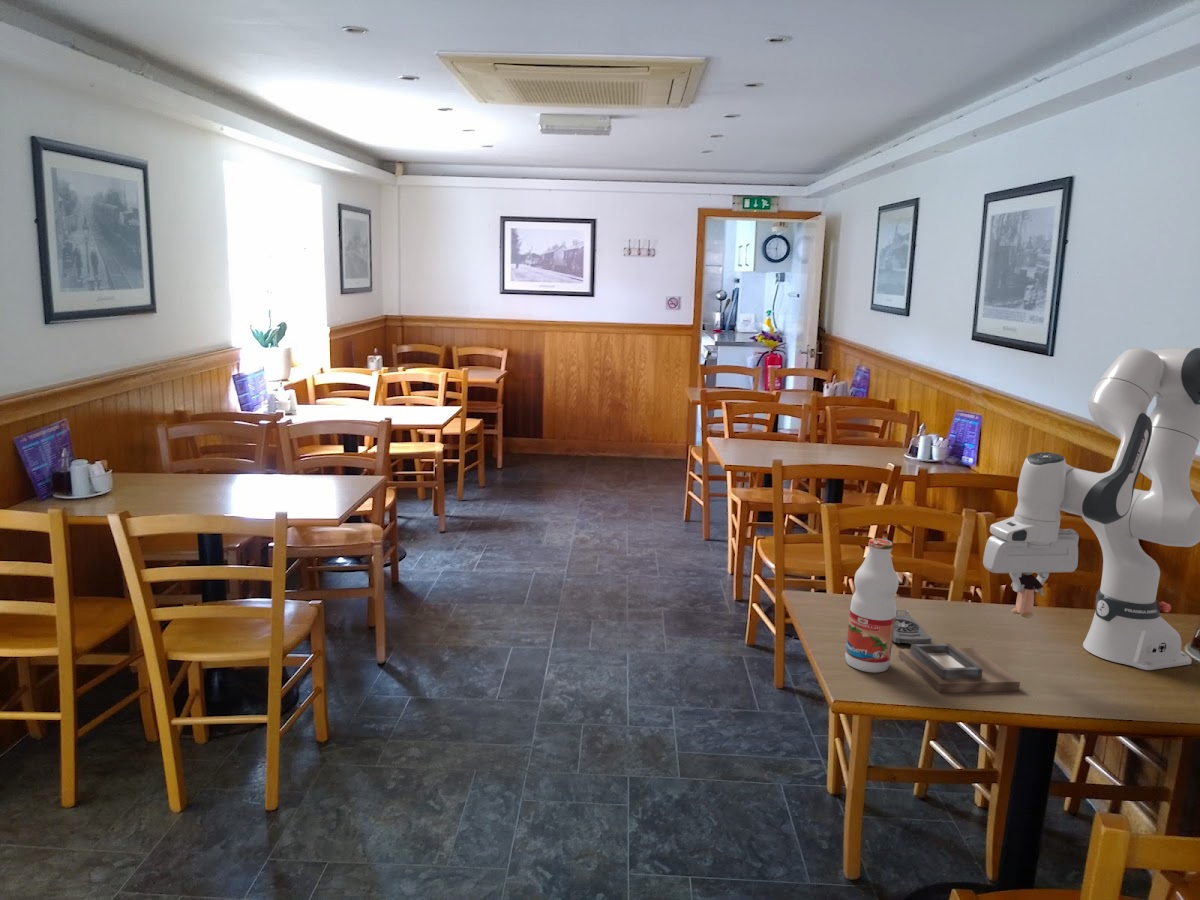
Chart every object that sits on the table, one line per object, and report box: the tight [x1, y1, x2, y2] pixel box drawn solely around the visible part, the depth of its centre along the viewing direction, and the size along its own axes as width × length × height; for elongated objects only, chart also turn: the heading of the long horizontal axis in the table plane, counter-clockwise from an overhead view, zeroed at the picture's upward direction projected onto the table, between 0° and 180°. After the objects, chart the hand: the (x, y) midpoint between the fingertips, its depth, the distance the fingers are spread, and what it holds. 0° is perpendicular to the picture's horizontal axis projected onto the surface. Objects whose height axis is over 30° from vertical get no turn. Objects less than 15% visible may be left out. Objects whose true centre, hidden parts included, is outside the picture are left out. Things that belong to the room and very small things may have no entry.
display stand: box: [898, 643, 1021, 694], centre depth 186 cm, size 18×17×4 cm
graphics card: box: [892, 609, 933, 645], centre depth 207 cm, size 17×4×12 cm
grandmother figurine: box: [1010, 573, 1045, 619], centre depth 186 cm, size 8×4×13 cm, turn 39°
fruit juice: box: [844, 537, 899, 674], centre depth 186 cm, size 9×9×28 cm
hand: (1026, 591), depth 186 cm, fingers closed on grandmother figurine, 3 cm apart
